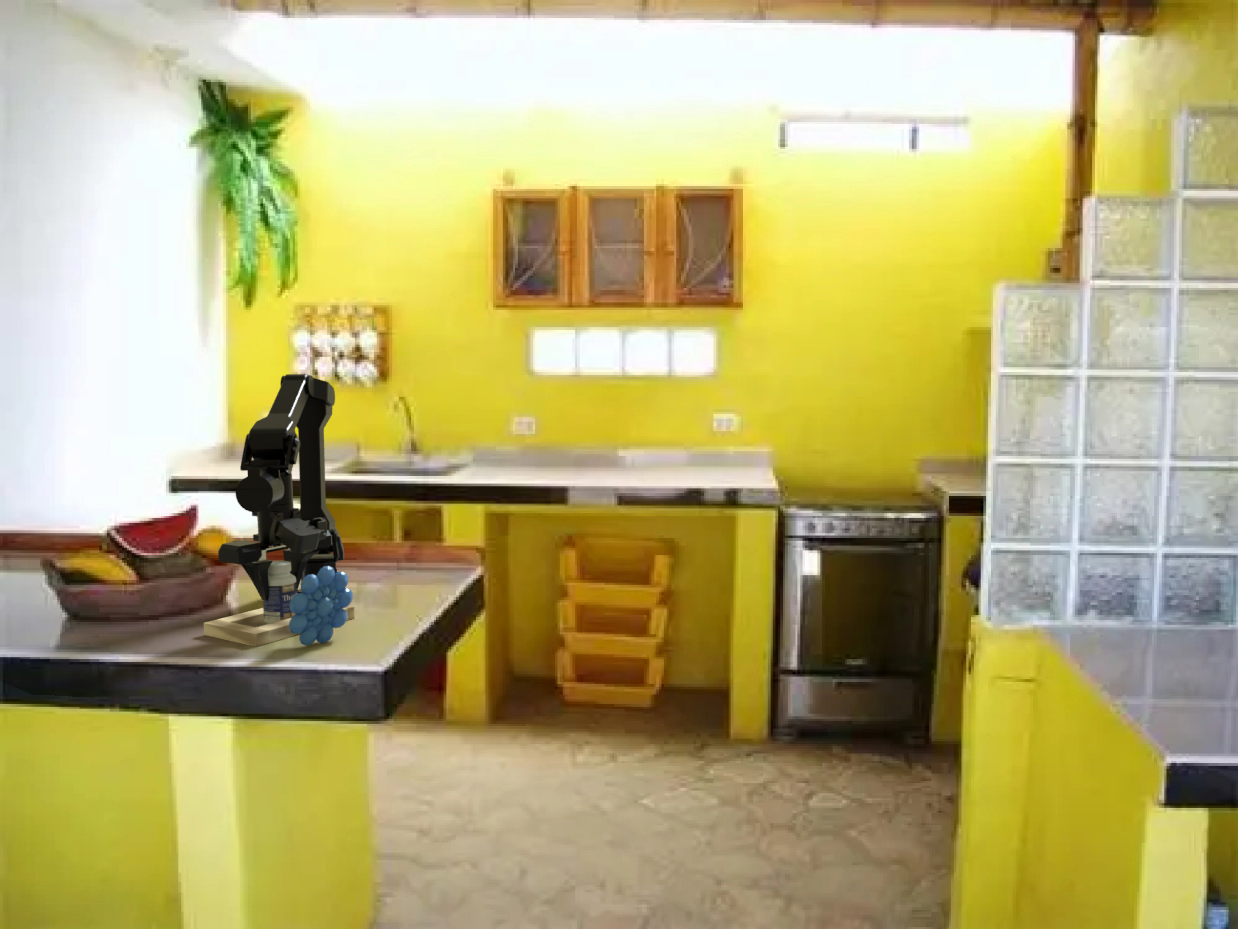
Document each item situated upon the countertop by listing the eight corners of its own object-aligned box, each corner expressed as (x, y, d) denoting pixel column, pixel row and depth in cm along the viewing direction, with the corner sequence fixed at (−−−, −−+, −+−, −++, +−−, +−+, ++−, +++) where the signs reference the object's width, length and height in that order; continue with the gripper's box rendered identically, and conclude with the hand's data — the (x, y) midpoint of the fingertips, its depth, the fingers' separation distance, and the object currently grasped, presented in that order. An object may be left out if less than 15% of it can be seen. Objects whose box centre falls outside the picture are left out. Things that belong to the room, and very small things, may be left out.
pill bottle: (288, 625, 172) (285, 566, 171) (257, 624, 173) (254, 565, 172) (304, 617, 178) (301, 560, 176) (274, 616, 179) (271, 559, 178)
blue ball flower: (336, 630, 173) (333, 558, 171) (363, 637, 169) (360, 562, 167) (274, 647, 164) (270, 570, 162) (300, 654, 159) (297, 575, 158)
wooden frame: (303, 608, 188) (303, 597, 187) (354, 618, 180) (354, 606, 180) (204, 635, 171) (203, 622, 171) (256, 646, 164) (255, 634, 164)
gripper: (259, 514, 161) (264, 615, 163) (352, 499, 177) (356, 591, 178) (213, 509, 167) (219, 606, 169) (307, 494, 183) (311, 583, 184)
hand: (279, 596), depth 175 cm, fingers closed on pill bottle, 5 cm apart
